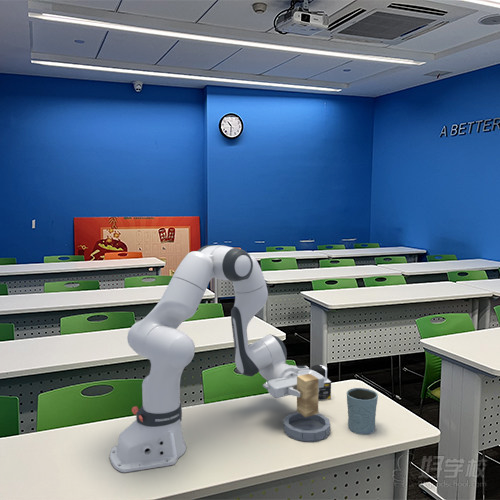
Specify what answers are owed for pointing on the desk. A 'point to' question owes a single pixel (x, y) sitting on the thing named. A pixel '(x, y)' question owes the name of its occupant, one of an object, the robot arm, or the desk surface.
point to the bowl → (306, 427)
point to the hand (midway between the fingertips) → (309, 393)
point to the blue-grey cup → (361, 410)
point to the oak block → (307, 395)
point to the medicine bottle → (326, 390)
